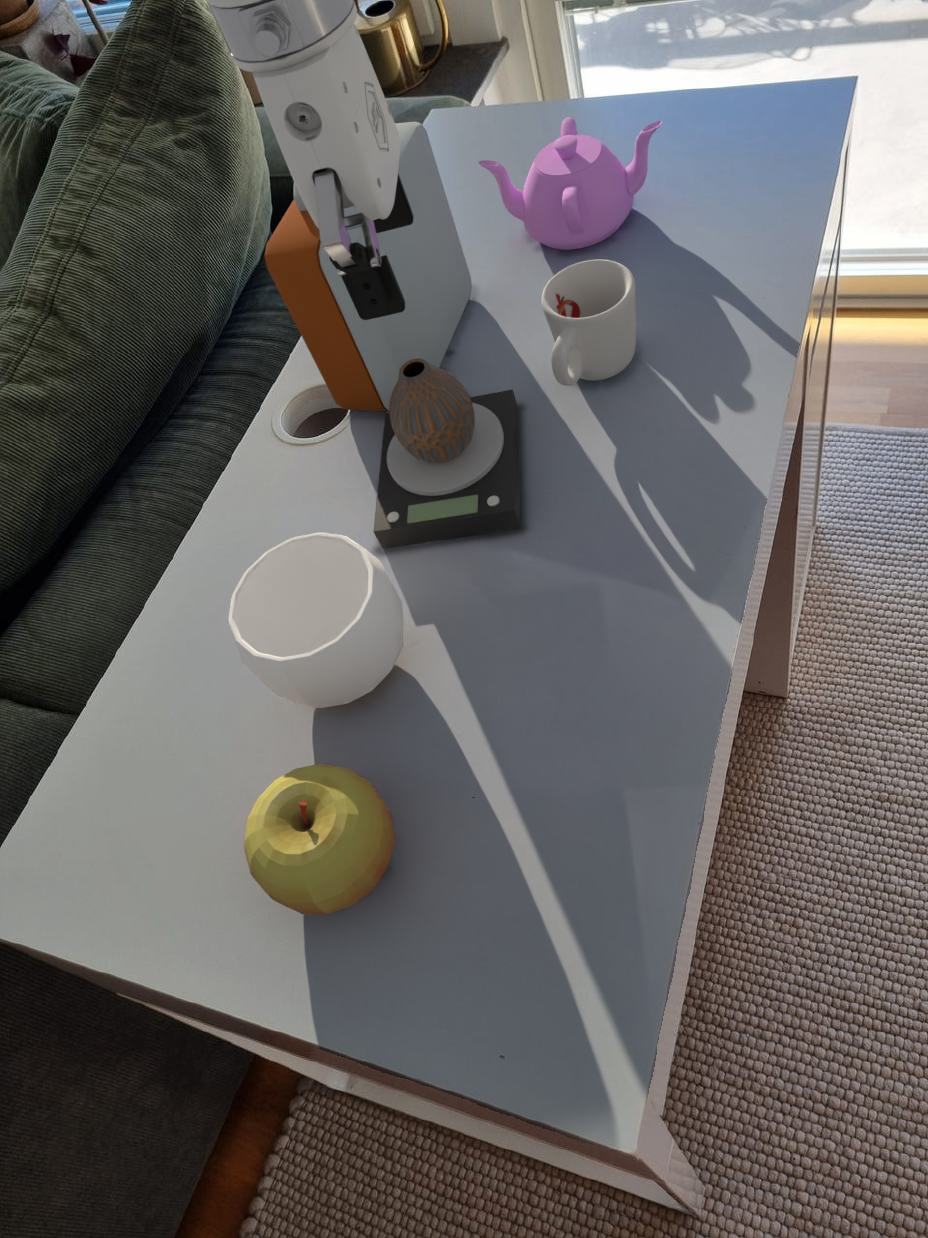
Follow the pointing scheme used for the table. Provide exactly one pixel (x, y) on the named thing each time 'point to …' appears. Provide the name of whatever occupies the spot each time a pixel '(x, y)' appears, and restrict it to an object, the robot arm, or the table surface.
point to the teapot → (575, 189)
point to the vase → (431, 412)
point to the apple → (319, 839)
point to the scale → (453, 482)
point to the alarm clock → (423, 266)
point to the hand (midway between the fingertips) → (389, 268)
